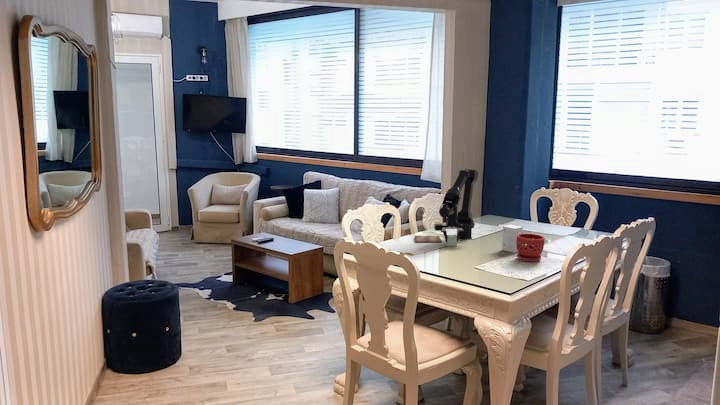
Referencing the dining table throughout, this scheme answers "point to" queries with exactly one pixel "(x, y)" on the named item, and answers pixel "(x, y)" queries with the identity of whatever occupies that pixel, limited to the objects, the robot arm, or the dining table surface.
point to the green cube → (451, 240)
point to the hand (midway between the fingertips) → (451, 242)
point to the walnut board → (428, 239)
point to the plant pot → (530, 247)
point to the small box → (510, 238)
